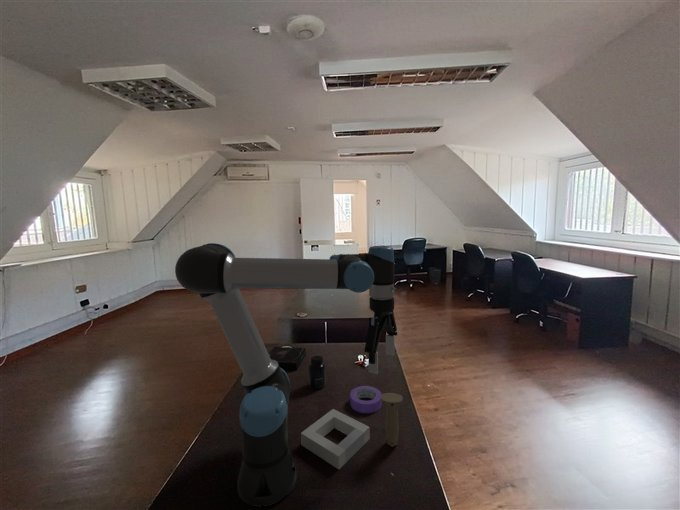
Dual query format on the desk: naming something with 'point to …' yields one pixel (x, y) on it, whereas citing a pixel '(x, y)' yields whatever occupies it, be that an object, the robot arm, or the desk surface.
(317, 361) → the supplement bottle
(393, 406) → the handle
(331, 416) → the socket
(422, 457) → the desk surface
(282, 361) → the portable cd player
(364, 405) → the masking tape
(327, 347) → the desk surface
